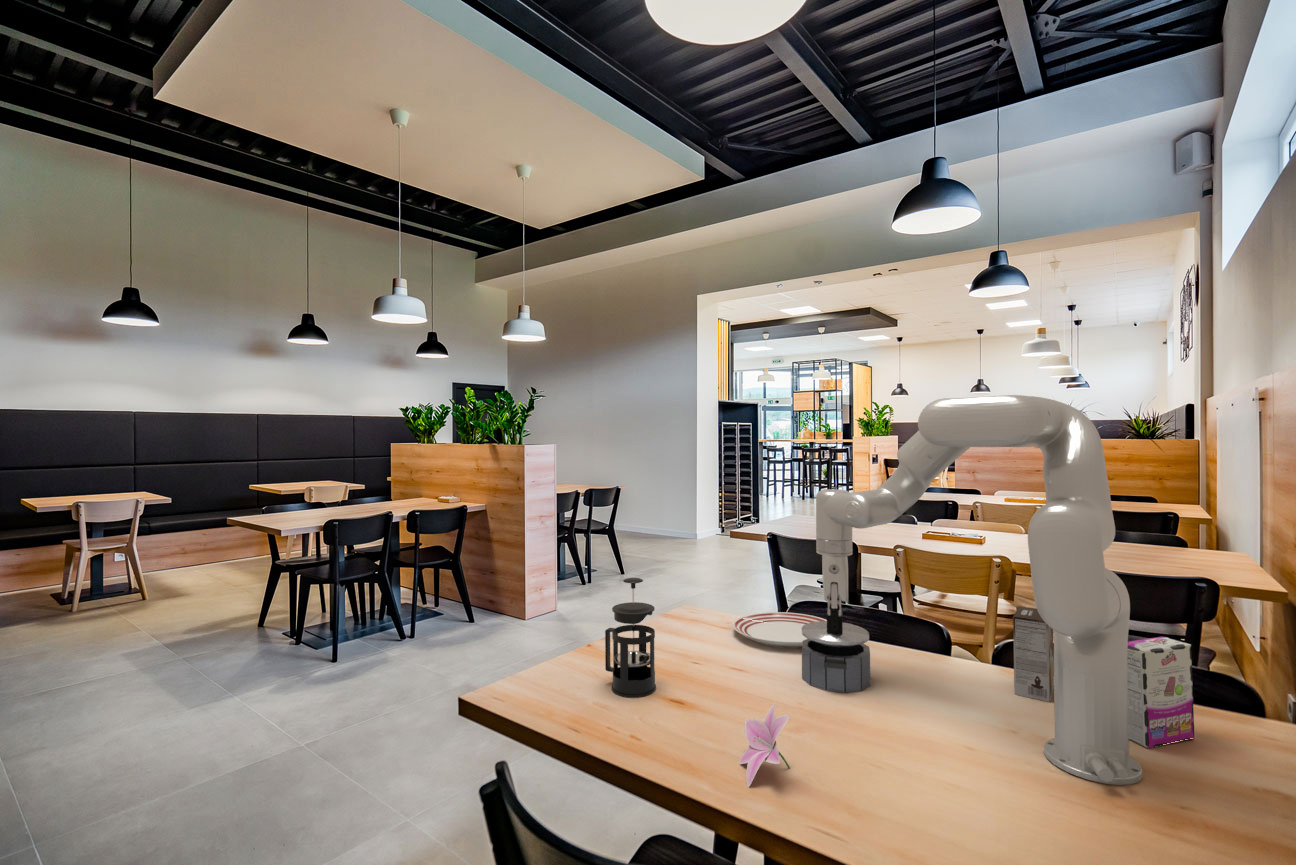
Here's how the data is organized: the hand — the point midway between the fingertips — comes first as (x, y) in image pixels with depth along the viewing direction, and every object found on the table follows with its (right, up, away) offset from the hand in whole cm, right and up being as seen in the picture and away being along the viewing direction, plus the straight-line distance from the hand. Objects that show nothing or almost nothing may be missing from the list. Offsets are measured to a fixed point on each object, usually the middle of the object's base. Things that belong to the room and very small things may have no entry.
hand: (834, 630), depth 131 cm
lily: (-22, -11, -36) cm, 44 cm away
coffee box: (+39, -10, -7) cm, 41 cm away
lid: (0, -2, 0) cm, 2 cm away
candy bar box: (+47, -10, -27) cm, 55 cm away
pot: (0, -11, 0) cm, 11 cm away
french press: (-44, -11, -4) cm, 46 cm away
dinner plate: (-4, -11, +29) cm, 31 cm away
